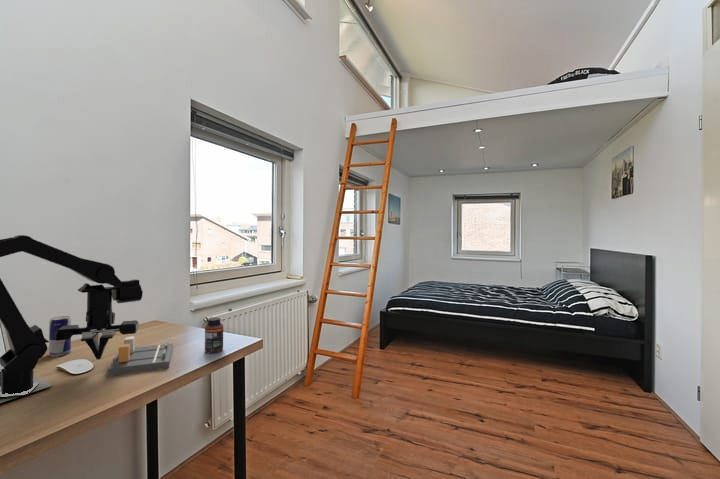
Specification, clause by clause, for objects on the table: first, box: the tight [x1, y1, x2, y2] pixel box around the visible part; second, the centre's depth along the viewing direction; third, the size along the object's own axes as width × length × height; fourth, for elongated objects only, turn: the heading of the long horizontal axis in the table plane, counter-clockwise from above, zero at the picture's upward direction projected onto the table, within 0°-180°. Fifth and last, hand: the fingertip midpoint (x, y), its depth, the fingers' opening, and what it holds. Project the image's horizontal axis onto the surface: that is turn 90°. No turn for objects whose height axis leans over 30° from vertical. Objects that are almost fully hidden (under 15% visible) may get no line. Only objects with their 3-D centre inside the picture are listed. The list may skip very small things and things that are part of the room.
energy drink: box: [48, 315, 72, 358], centre depth 110 cm, size 5×5×12 cm
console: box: [107, 341, 174, 377], centre depth 106 cm, size 18×15×4 cm
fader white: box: [123, 335, 136, 353], centre depth 108 cm, size 3×2×4 cm
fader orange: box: [118, 343, 130, 362], centre depth 101 cm, size 3×2×4 cm
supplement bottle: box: [204, 316, 224, 354], centre depth 117 cm, size 6×6×11 cm
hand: (98, 359), depth 98 cm, fingers closed
